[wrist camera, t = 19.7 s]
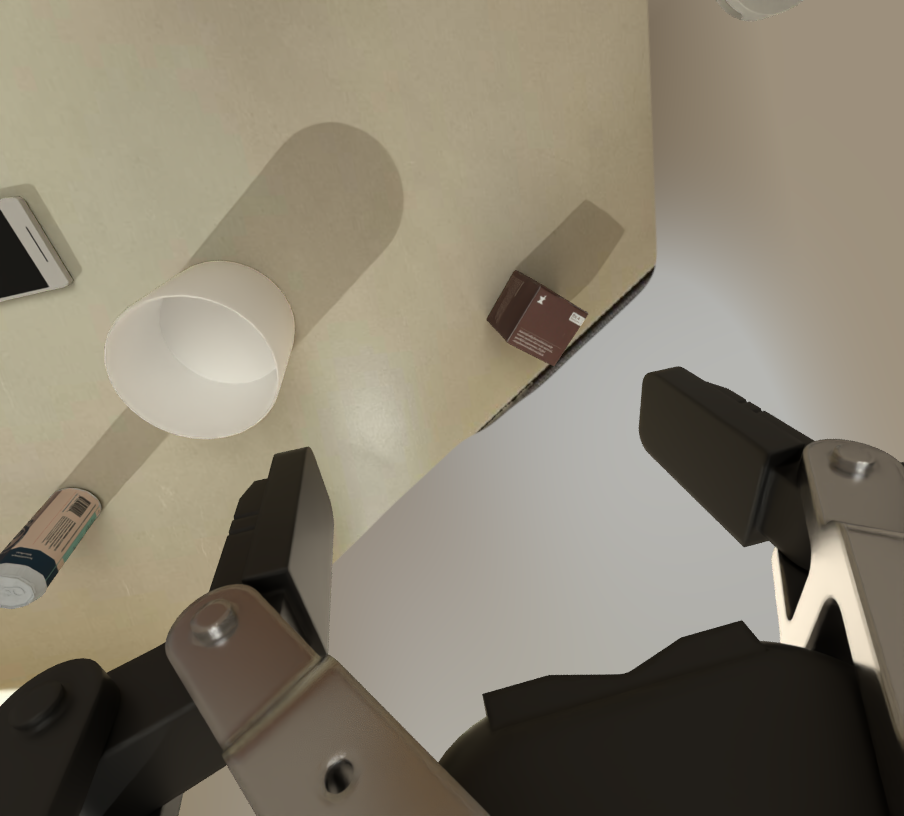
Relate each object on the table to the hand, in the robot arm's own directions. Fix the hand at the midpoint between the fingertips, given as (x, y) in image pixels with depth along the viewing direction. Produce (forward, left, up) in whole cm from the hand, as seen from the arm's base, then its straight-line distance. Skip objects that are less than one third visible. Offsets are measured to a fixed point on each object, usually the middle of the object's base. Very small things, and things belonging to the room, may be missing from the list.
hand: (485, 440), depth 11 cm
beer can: (+38, +22, -37) cm, 57 cm away
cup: (+16, +6, -37) cm, 41 cm away
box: (-13, +10, -37) cm, 41 cm away
